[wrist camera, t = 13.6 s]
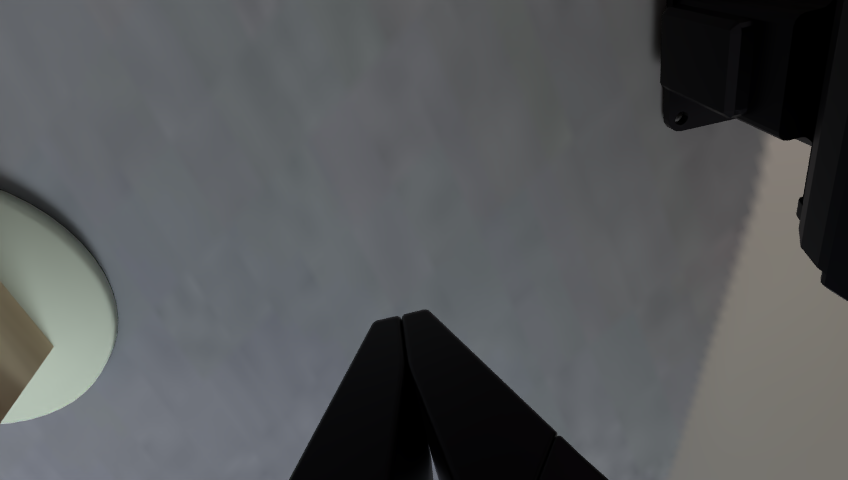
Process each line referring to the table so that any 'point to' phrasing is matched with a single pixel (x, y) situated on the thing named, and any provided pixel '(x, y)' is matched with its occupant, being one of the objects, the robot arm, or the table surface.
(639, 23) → the table surface
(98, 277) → the sage mat
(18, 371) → the maple block
